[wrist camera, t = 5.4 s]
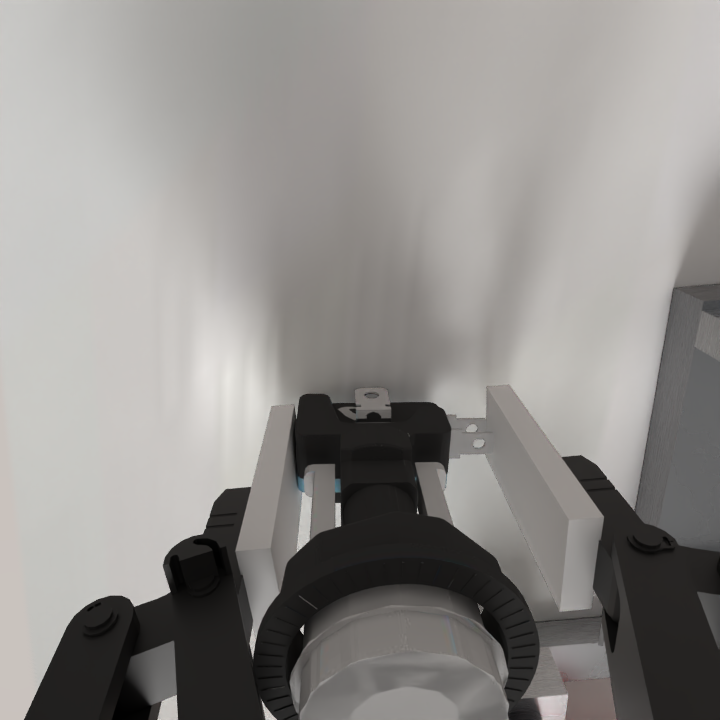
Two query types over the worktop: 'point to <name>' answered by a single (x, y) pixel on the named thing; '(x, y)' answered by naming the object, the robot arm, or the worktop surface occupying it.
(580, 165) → the worktop surface
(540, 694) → the lever
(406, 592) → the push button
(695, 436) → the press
